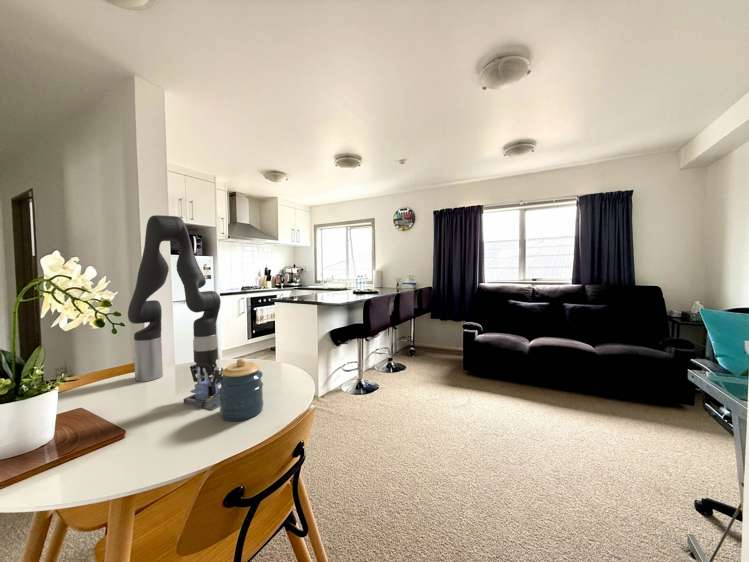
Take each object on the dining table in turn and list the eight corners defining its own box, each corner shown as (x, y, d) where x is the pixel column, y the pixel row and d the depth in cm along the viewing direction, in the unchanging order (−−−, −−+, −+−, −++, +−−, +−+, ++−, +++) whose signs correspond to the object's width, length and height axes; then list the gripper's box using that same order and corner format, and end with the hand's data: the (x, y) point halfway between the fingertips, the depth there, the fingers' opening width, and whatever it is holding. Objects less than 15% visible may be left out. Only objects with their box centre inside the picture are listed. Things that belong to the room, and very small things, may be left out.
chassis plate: (183, 403, 104) (183, 397, 104) (211, 391, 115) (210, 385, 114) (212, 410, 100) (212, 403, 99) (238, 396, 110) (238, 390, 110)
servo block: (190, 400, 104) (190, 384, 104) (214, 389, 113) (213, 374, 113) (199, 402, 102) (198, 385, 102) (222, 391, 111) (221, 376, 111)
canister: (215, 425, 90) (213, 367, 89) (224, 405, 103) (223, 354, 102) (261, 418, 94) (260, 363, 93) (265, 400, 106) (263, 351, 105)
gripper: (181, 348, 106) (183, 395, 107) (211, 352, 101) (213, 402, 102) (200, 343, 113) (202, 387, 114) (229, 346, 108) (230, 393, 109)
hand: (207, 394), depth 108 cm, fingers closed on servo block, 4 cm apart
